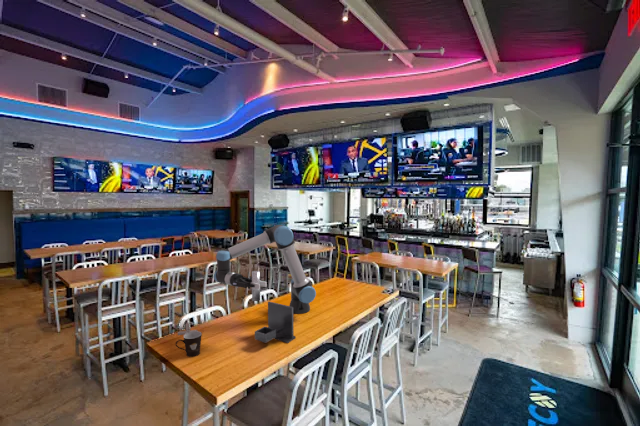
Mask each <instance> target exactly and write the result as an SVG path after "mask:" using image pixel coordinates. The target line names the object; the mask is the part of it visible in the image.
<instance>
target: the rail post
mask: <svg viewBox="0 0 640 426" xmlns="http://www.w3.org/2000/svg"><path fill="white" fill-rule="evenodd" d="M251 277H252V282H253V283H258V284H260V279H261V271H260V270H252V271H251ZM251 300H252V302H259V301H261V288H260V289H256V288H251Z"/></svg>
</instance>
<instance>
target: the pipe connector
mask: <svg viewBox="0 0 640 426" xmlns="http://www.w3.org/2000/svg"><path fill="white" fill-rule="evenodd" d="M193 331H198V329H191V327H190V323H189V322H187V323H185V330H184V331H177V336H184V335H185V334H186V333H189V332H193Z"/></svg>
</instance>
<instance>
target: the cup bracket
mask: <svg viewBox="0 0 640 426" xmlns="http://www.w3.org/2000/svg"><path fill="white" fill-rule="evenodd" d="M267 322H268V323H267V326H263V327H261V328H259V329H257V330H255V331H254V340H256V341H259V342H262V343H265V344H266V343H268V342H270V341H272V340H273V339H274V340H276V341H280V342H283V343H286V344H289V343H291V342H292V341H294V340H296V337H297V336H295V335H294V331H295V330H294V313H293V307H290V306H289V305H285V304H281V303H279V302H278V303H276V302H272V301H268V302H267Z"/></svg>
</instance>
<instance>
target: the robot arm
mask: <svg viewBox="0 0 640 426" xmlns="http://www.w3.org/2000/svg"><path fill="white" fill-rule="evenodd" d="M295 242H296V241H295V239H294V233H293V231H292V229H291V228H290V227H289V226H286V225H283V224H276V225H274V226H272V227H270V228H267V229H266V230H264V231H263V233H261V234H258V235H255V236H254V237H251V238H249V239H247V240H244V241H242V242H239V243H237V244H235V245H233V246H231V247H227V248H226V249H223V250H219V251H217V253H216V254H215V259H216V266H217V268H216V271H215V272H214V274H213V280H214V281H215V282H217V283H219V284H222V285H223V284H224V285H229V286H233V287H236V288H239V287H240V288H244V289H247V288H248V289H249V290H250V289H252V288H256V289H260V290H261V287H264V288H267V287H268V284H267V283H268V282H267V281H264V280H261V278H260V284H258V283H253V282H252V276H249V277H246V276H243V275H242V274H241V273H237V272H233V271H231V260H233V259H235V258H237V257H240V256H242V255H245V254H247V253H248V252H249V253H250V252H251V251H254V250H255V249H258V248H260V247H263V246H265V245H267V244H269V245H271V244H273V243H275V244H276V247H277V249H278V250H279V251H281V253H282V255H283V258H284V260H285V263H286V265H287V267H288V271H289V273H290V275H291V278H292V279H290V298H291V299H290V302H289V305H288V306H290V307H293V314H297V315H299V314H301V315H302V314H306V313H308V312H310V311H311V306H310V305H311V304H310V303H311V302H313V301H314V300H315V298H316V296H317V292H316V289H315V287H313V285H312V283H311V280H310V278H308V277H307V275H306V274H305V271H304V269H303V266H302V263H301V260H300V258H299V256H298V254H297V253H298V252H297V251H296V248H295V246H294V245H295Z"/></svg>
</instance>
